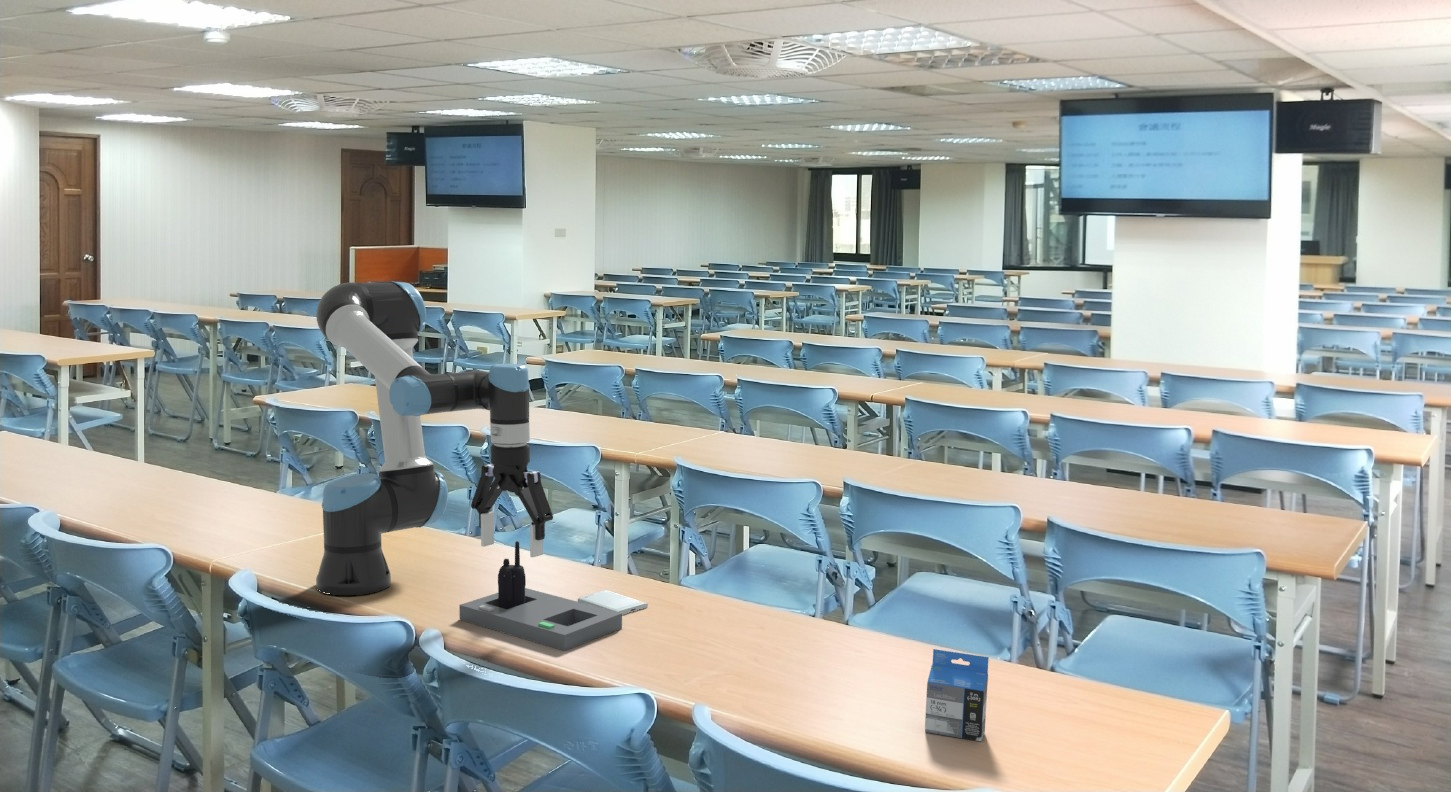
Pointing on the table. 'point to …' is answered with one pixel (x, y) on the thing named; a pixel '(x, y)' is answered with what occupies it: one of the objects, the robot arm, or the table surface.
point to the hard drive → (613, 602)
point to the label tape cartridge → (957, 695)
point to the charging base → (543, 619)
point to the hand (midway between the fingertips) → (511, 550)
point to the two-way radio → (511, 582)
